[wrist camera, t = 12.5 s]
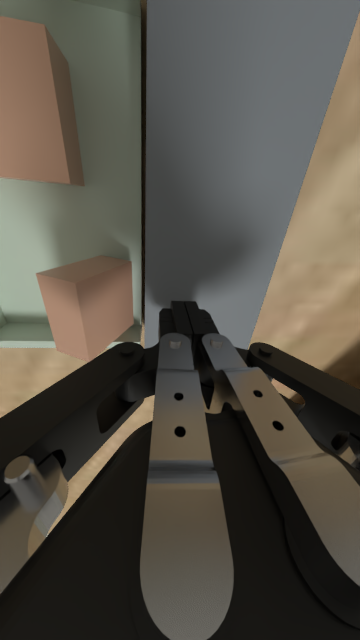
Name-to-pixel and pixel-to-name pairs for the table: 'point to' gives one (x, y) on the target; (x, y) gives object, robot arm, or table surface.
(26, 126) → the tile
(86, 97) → the tray
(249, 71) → the grey flat block
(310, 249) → the table surface
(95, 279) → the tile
